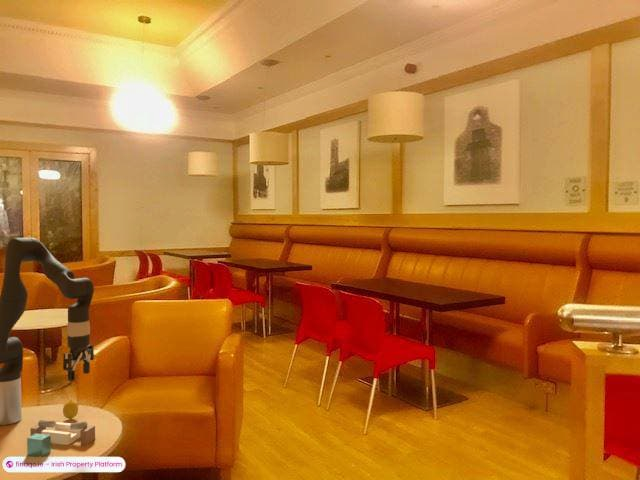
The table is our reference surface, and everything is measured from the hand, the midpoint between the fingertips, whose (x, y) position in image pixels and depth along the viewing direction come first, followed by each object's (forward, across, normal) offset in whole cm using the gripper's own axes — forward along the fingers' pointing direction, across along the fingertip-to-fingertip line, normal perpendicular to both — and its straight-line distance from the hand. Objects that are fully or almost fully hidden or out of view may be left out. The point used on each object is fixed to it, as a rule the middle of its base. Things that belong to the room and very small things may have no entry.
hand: (79, 376), depth 191 cm
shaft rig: (+24, 0, -7) cm, 25 cm away
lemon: (+24, -16, -15) cm, 33 cm away
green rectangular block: (+24, +12, -7) cm, 28 cm away
